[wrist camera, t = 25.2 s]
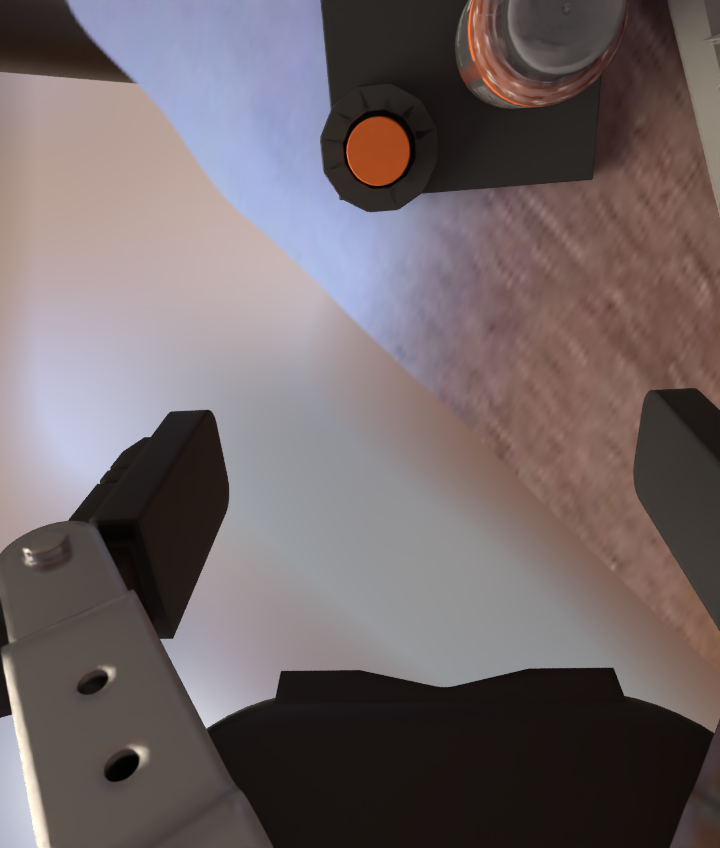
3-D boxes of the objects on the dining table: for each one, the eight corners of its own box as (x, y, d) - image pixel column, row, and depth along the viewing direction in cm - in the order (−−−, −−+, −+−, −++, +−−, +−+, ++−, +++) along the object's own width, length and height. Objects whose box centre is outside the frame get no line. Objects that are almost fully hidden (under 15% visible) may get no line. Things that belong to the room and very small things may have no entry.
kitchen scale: (333, 207, 36) (327, 215, 34) (307, -55, 31) (298, -71, 28) (585, 187, 35) (600, 194, 32) (607, -92, 29) (627, -111, 27)
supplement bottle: (572, 99, 32) (651, 96, 22) (457, 116, 32) (481, 121, 22) (575, -42, 29) (666, -119, 19) (449, -20, 30) (473, -84, 20)
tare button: (352, 184, 33) (349, 188, 32) (346, 119, 32) (343, 119, 30) (411, 179, 33) (411, 183, 31) (408, 113, 31) (408, 113, 30)
